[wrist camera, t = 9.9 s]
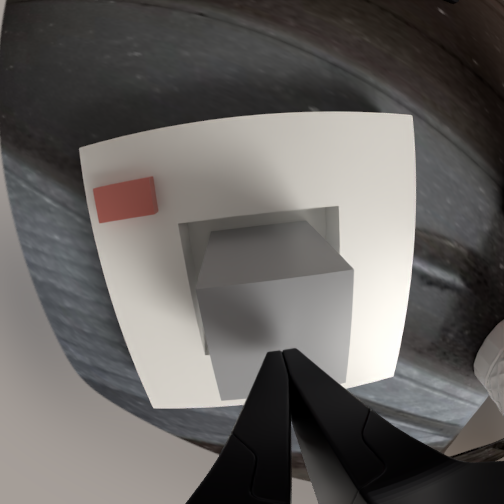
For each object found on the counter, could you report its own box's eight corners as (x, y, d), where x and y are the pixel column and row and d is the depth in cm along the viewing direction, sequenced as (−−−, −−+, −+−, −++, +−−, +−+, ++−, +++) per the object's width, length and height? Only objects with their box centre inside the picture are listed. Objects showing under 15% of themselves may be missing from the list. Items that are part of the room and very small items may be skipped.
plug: (306, 220, 14) (353, 269, 8) (309, 339, 16) (340, 420, 10) (210, 231, 14) (195, 289, 8) (230, 349, 16) (231, 436, 10)
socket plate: (386, 118, 13) (419, 114, 10) (377, 352, 17) (397, 382, 14) (102, 147, 13) (72, 148, 10) (160, 380, 17) (151, 415, 14)
